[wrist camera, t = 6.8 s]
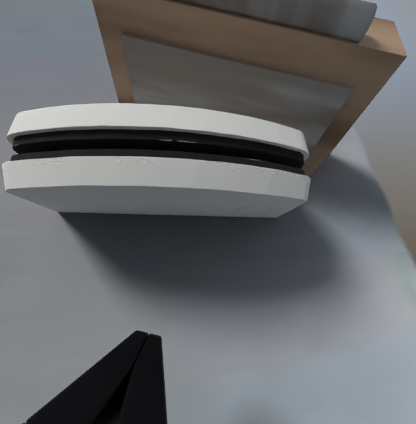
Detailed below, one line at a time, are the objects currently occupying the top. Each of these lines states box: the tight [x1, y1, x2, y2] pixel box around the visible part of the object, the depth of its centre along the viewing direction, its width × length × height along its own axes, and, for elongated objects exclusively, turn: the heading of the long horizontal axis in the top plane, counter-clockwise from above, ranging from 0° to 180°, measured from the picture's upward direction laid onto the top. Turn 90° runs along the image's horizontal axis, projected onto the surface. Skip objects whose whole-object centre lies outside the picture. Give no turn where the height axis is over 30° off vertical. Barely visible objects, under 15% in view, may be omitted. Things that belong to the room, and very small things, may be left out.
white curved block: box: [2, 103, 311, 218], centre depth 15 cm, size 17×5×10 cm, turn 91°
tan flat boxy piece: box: [92, 0, 407, 177], centre depth 17 cm, size 4×17×11 cm, turn 77°
